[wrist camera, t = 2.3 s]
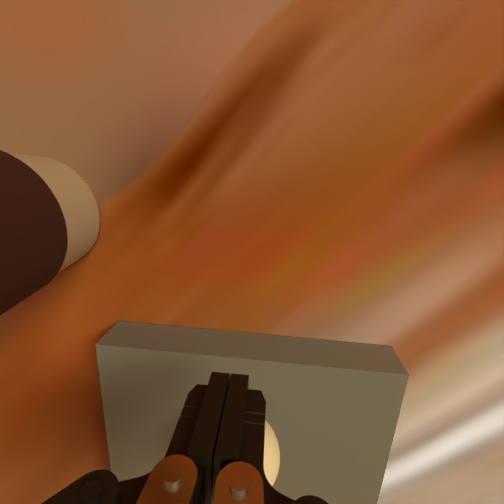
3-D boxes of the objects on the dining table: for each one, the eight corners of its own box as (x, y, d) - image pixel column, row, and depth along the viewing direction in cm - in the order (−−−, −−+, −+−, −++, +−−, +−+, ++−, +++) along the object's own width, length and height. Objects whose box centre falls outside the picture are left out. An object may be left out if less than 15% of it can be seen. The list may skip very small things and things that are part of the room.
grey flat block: (391, 346, 21) (408, 374, 19) (340, 577, 29) (347, 623, 26) (118, 320, 23) (95, 344, 20) (139, 548, 31) (125, 588, 28)
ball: (282, 395, 20) (283, 470, 15) (277, 452, 21) (276, 537, 17) (207, 387, 20) (185, 458, 15) (207, 444, 22) (186, 525, 17)
